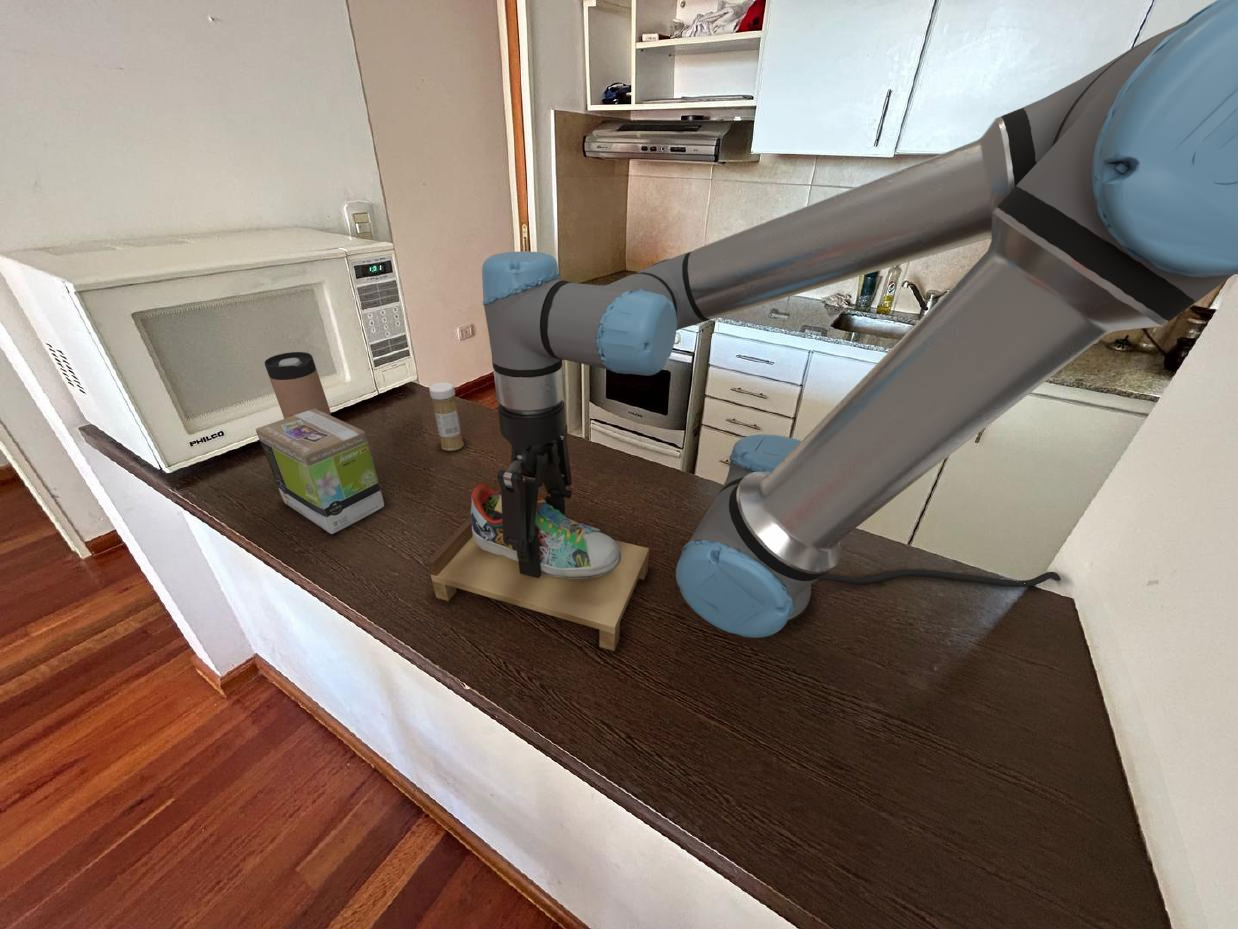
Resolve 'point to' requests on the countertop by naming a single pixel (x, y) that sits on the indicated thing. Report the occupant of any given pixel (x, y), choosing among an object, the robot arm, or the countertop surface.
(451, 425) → the sprinkles bottle
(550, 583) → the platform
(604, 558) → the sneaker
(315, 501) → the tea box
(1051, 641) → the countertop surface
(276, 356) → the travel mug
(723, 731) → the countertop surface
